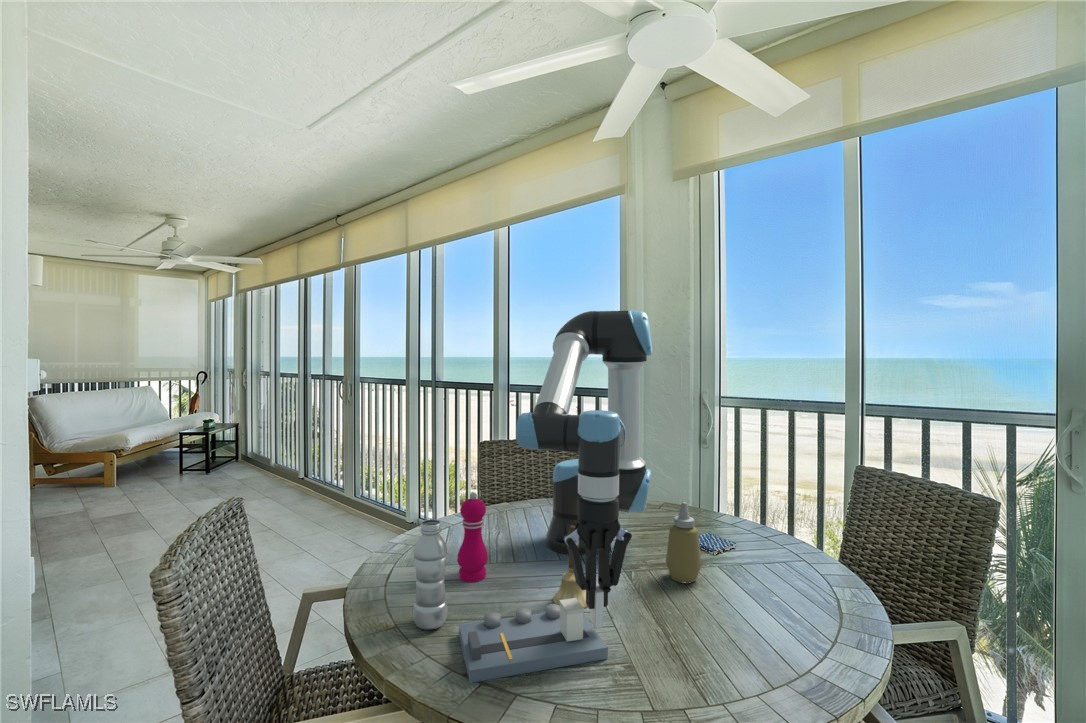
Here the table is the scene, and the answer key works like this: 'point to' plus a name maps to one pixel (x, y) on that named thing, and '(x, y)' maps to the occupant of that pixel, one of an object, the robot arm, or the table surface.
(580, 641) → the console board
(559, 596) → the hand bell
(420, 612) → the plastic bottle
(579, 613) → the fader tab
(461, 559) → the pepper mill
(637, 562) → the table surface
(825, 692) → the table surface
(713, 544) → the woven mat
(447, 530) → the table surface
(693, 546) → the squeeze bottle
